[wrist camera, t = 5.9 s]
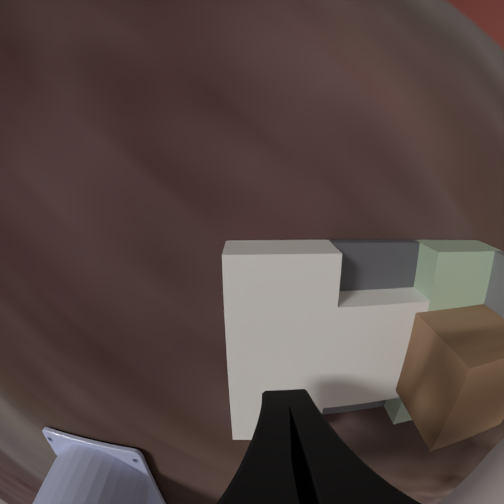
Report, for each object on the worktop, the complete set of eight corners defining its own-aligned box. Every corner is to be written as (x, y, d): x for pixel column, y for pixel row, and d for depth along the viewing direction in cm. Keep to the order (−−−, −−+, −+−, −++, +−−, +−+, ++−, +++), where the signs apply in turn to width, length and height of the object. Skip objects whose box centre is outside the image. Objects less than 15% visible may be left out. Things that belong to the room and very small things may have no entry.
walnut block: (460, 375, 12) (500, 423, 8) (395, 389, 12) (429, 451, 8) (483, 303, 11) (538, 345, 7) (415, 312, 11) (469, 368, 7)
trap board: (438, 388, 14) (465, 425, 11) (234, 411, 14) (231, 463, 11) (477, 240, 12) (524, 260, 9) (226, 240, 12) (217, 269, 9)
